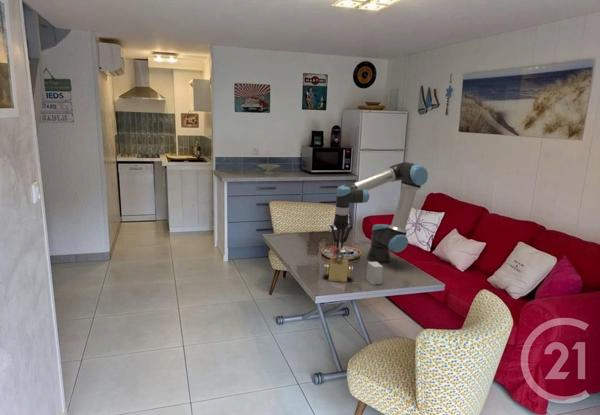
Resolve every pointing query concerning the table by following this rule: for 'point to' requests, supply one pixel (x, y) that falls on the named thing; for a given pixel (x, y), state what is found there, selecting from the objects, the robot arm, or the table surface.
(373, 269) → the small box
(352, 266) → the pipe
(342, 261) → the valve body
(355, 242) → the table surface
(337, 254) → the lever
